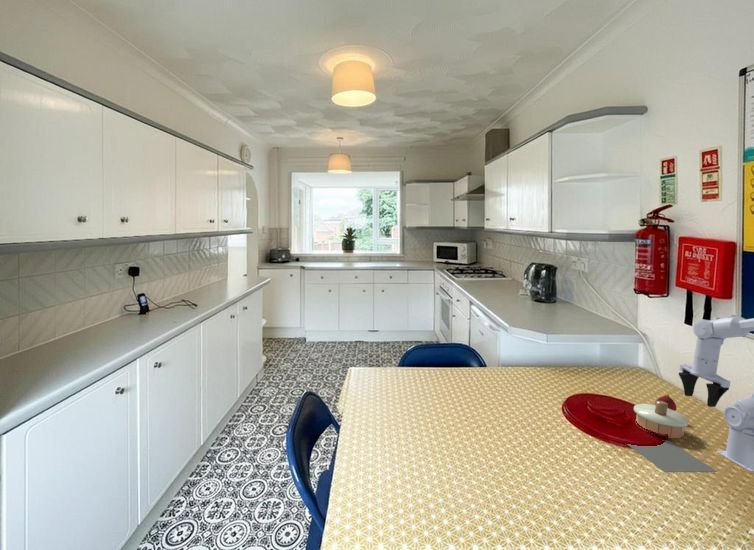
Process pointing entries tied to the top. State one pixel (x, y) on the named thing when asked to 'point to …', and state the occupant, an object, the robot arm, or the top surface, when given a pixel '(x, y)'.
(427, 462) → the top surface
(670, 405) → the onion
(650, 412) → the lid
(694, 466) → the mat
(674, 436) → the bowl
